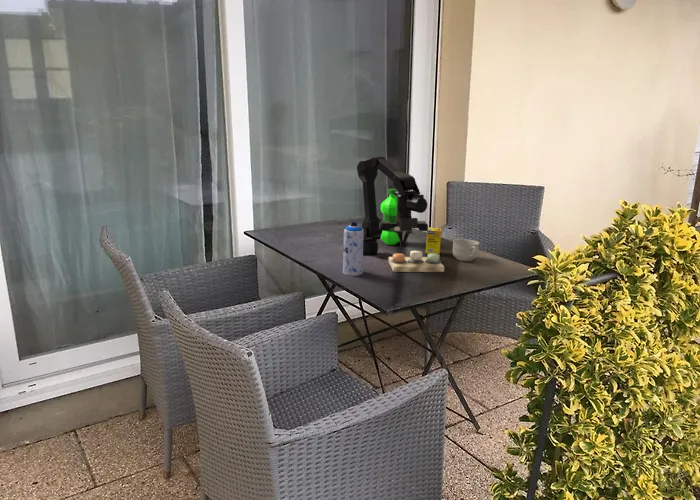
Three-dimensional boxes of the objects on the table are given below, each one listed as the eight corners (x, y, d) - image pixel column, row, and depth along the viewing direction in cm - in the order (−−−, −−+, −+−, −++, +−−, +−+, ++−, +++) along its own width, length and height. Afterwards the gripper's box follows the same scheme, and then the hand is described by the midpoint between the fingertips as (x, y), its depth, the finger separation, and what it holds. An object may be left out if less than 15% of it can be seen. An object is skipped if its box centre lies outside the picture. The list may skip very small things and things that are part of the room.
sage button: (428, 262, 238) (428, 256, 238) (426, 258, 243) (426, 253, 242) (440, 262, 239) (440, 256, 238) (437, 259, 243) (438, 253, 243)
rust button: (393, 262, 237) (393, 256, 237) (391, 258, 242) (392, 253, 241) (405, 262, 238) (405, 256, 237) (403, 258, 242) (403, 253, 242)
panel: (393, 271, 234) (393, 266, 233) (388, 261, 247) (388, 256, 246) (444, 271, 235) (444, 266, 235) (436, 261, 249) (437, 256, 248)
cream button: (411, 259, 238) (411, 253, 237) (409, 256, 242) (409, 250, 242) (423, 259, 238) (423, 253, 237) (420, 256, 243) (421, 250, 242)
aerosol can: (339, 270, 233) (340, 220, 228) (358, 268, 236) (359, 219, 231) (346, 276, 226) (348, 224, 221) (365, 274, 229) (367, 223, 224)
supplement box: (439, 256, 257) (441, 231, 254) (425, 255, 258) (426, 230, 255) (440, 252, 262) (441, 228, 260) (426, 251, 264) (427, 227, 261)
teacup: (449, 255, 258) (450, 237, 256) (473, 255, 259) (475, 237, 257) (457, 265, 244) (459, 246, 242) (483, 265, 245) (485, 246, 243)
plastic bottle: (376, 244, 272) (378, 190, 266) (384, 239, 282) (386, 186, 275) (397, 247, 269) (400, 192, 262) (404, 242, 278) (407, 188, 272)
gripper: (382, 212, 226) (381, 252, 230) (431, 212, 227) (429, 252, 231) (379, 206, 237) (378, 244, 241) (426, 207, 238) (424, 245, 242)
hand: (402, 247), depth 238 cm, fingers closed
